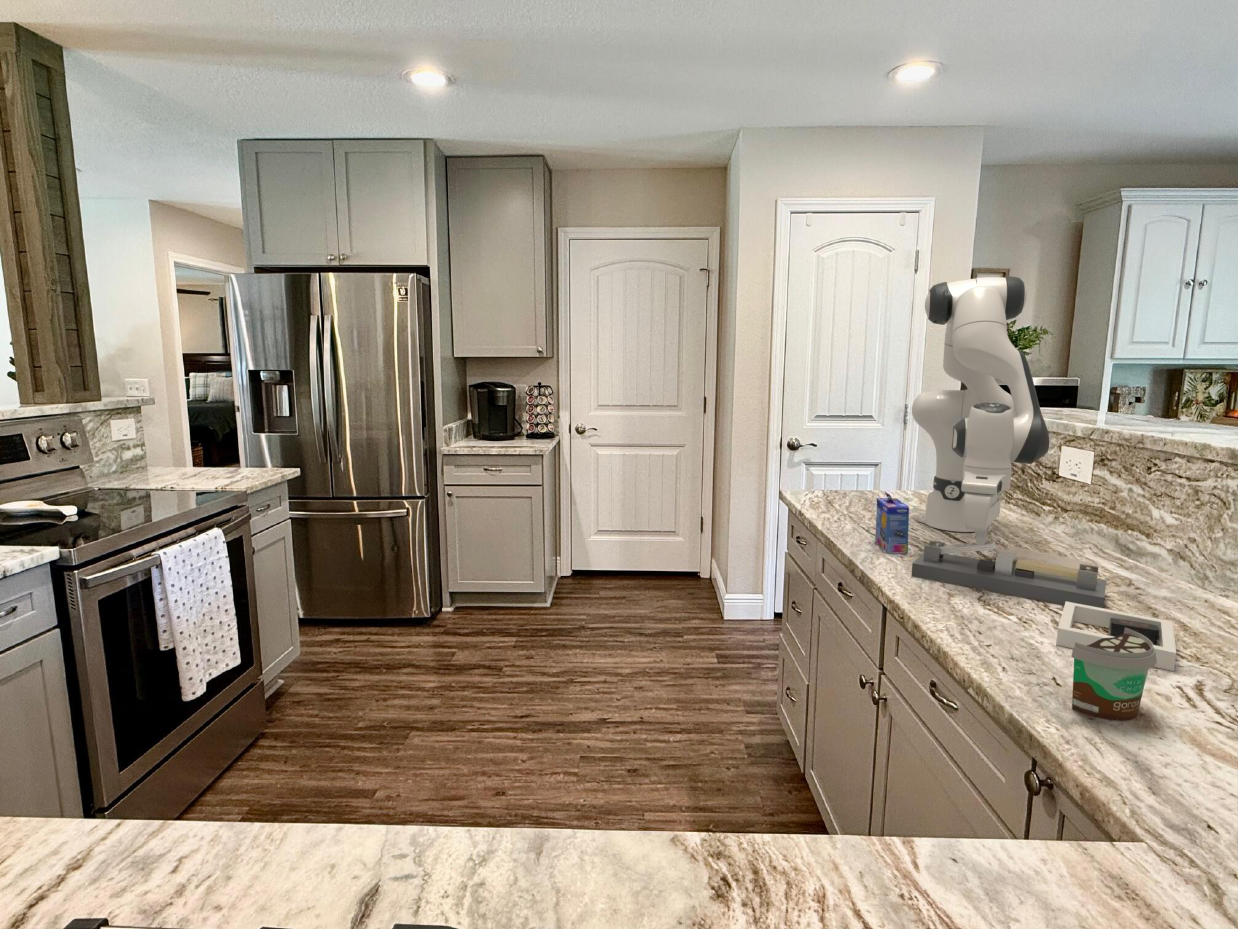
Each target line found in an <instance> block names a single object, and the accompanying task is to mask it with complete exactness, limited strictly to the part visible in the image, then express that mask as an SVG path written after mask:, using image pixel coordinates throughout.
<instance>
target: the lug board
mask: <svg viewBox="0 0 1238 929" xmlns="http://www.w3.org/2000/svg"><path fill="white" fill-rule="evenodd" d="M945 544H946V542H944V541H938V540H929V543H928V544H925V545H924V546H923V553H922V554H921V555H920V556H918V557H917V558H916V559H915V560H914V561H913V562H912V564H911V577H915V578H920V579H924V580H930V581H935V582H941V583H945V584H951V585H955V586H956V585H957V586H961V587H966V588H971V589H977V590H983V591H987V592H993V593H997V594H1001V595H1002V594H1004V595H1008V596H1011V597H1012V596H1013V597H1019V598H1024V599H1029V600H1032V601H1033V600H1034V601H1038V602H1039V601H1040V602H1044V603H1050V604H1054V605H1060V606H1063V607H1064V606H1065V602H1066V601H1067V602H1072V603H1077V604H1082V605H1088V606H1093V607H1098V608H1104V604H1105V597H1106V590H1107V589H1106V588H1107V580H1106V579H1100V578H1098V575H1099V566H1098V565H1093V564H1092V565H1086V564H1080V567H1079V569H1080V570H1079V569H1078V577H1077V579H1074V578H1068V577H1063V576H1057V575H1052V574H1046V573H1041V572H1035V571H1029V570H1024V569H1018V568H1016V558H1017V553H1011V552H1004V550H1000V551H999V552H998V553H999V554H998V556H997V557H996V562H994V561H992V560H988V559H982V558H975V557H969V556H968V557H967V556H962V555H957V554H956V555H955V554H952V553H948V554H940V547H936V546H934V545H937V546H945ZM1086 569H1088V570H1091V571H1092V572H1091V571H1085V570H1086Z"/></svg>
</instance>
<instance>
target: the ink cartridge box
mask: <svg viewBox="0 0 1238 929" xmlns="http://www.w3.org/2000/svg"><path fill="white" fill-rule="evenodd" d="M884 494H885V495H886V498H885V497H884V498H883V497H879V498H876V511H875V512H876V515H875V516H876V517H875V518H876V519H875V539H874V541H875V542H876V543H877V544H878V545H879V546H880V547H881V548H882V549H883V550H884V551H885V552H884V551H883V550H882V549H881V548H880V547H879V546H878V545H877V544H876V543H875V542H874V543H875V544H876V545H877V546H878V547H879V548H880V549H881V550H882V551H883V552H884V553H885V554H894V555H895V554H896V555H898V554H900V555H907V554H908V553H909V529H910V528H909V524H910V506H909V505H908V504H906V503H904V502H902V501H901V500H900V499H898V498H893V497H892V495H890V493H888V492H886V491H884Z"/></svg>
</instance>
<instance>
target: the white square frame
mask: <svg viewBox="0 0 1238 929" xmlns="http://www.w3.org/2000/svg"><path fill="white" fill-rule="evenodd" d="M1110 618H1116V619H1122V620H1129V621H1135V622H1141V623H1147V624H1153V625H1156V626H1157V627H1158V628H1159V638H1158V645H1157V646H1156V645H1153V647H1154V648H1155V651H1156V658H1157V663H1156V665H1155V666H1153V667H1152V668H1157V669H1162V670H1167V671H1170V672H1174V671H1175V666H1176V665H1175V664H1176V658H1177V647H1176V641H1175V640H1176V639H1175V633H1174V623H1173V621H1172V620H1167V619H1162V618H1155V617H1150V616H1146V615H1140V614H1136V613H1135V614H1134V613H1130V612H1125V611H1119V610H1113V609H1108V608H1104V607H1103V608H1098V607H1093V606H1088V605H1082V604H1077V603H1072V602H1067V601H1066V602H1065V606H1064V605H1063V608H1062V614H1061V616H1060V620H1059V623H1058V626H1057V633H1056V646H1060V647H1064V648H1069V649H1073V647H1075V642H1077V643H1079V644H1082V645H1085V646H1087V645H1090V644H1092V643H1094V642H1096V641H1098V640H1100V639H1102V638H1113V636H1109V634H1108V635H1107V634H1103V633H1099V632H1093V631H1090V630H1085V629H1079V628H1074V627H1073V624H1074V622H1076V623H1080V624H1086V625H1091V626H1096V627H1098V628H1099V627H1101V628H1104V627H1105V628H1106V629H1109V625H1110Z"/></svg>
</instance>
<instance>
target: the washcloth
mask: <svg viewBox="0 0 1238 929" xmlns="http://www.w3.org/2000/svg"><path fill="white" fill-rule="evenodd" d="M1003 551H1004V552H1011V553H1017V558H1016V562H1017V560H1018V559H1021V560H1027V561H1033V562H1039V563H1045V564H1051V565H1057V566H1062V567H1068V568H1074V569H1079V567H1080V564H1086V565H1093V564H1092V563H1091V562H1089V561H1087V560H1082V559H1081V560H1080V559H1076V558H1070V557H1067V556H1062V555H1058V554H1054V553H1049V552H1042V551H1037V550H1031V549H1027V548H1021V547H1018V546H1010V547H1005V549H1004V550H1003ZM999 553H1000V552H997V553H996V554H994V555H992V560H991V561H994V562H996V557H997V556H998V554H999Z"/></svg>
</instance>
